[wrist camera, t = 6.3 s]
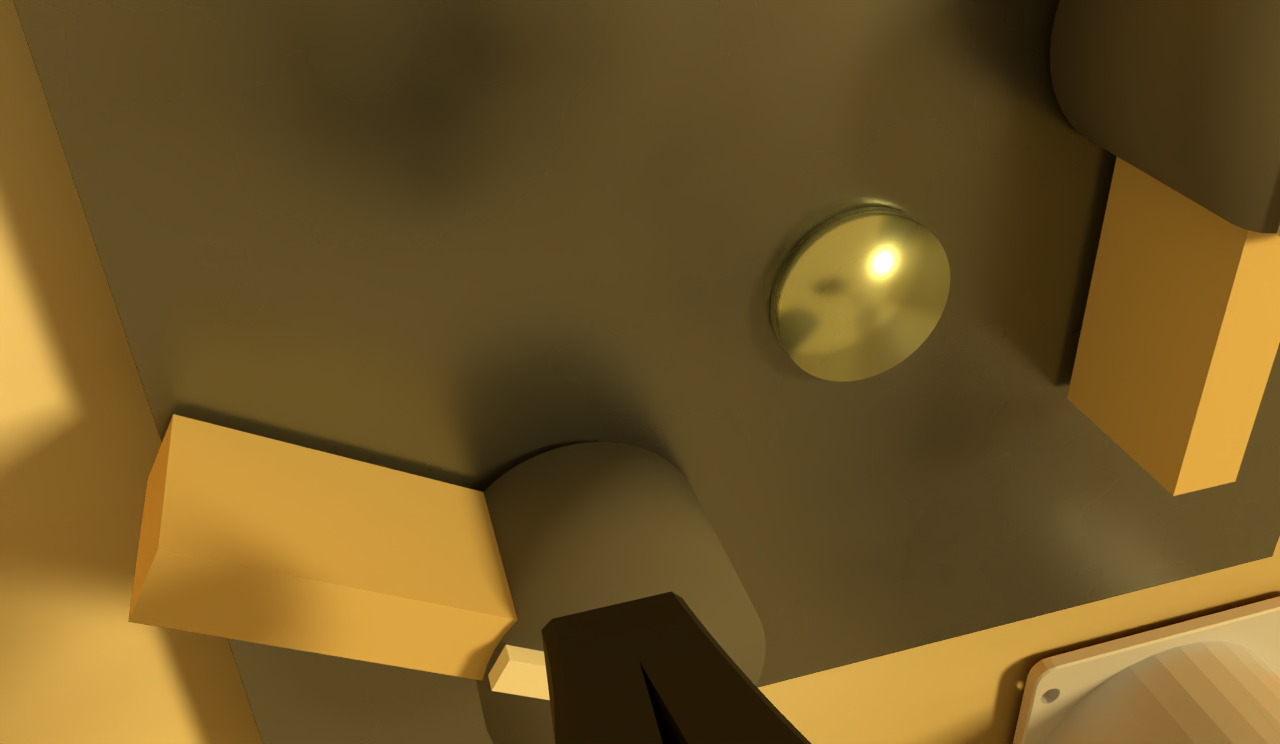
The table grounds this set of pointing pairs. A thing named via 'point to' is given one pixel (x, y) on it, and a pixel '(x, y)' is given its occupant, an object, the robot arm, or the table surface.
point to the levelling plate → (640, 291)
